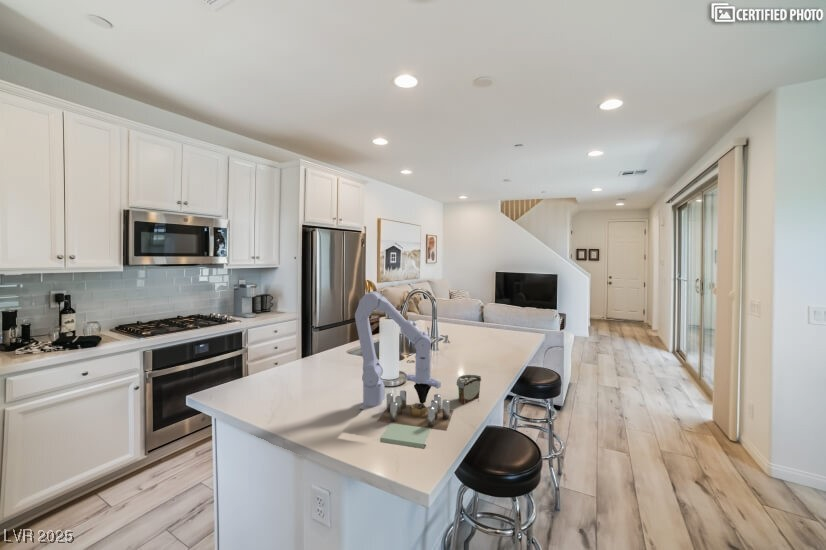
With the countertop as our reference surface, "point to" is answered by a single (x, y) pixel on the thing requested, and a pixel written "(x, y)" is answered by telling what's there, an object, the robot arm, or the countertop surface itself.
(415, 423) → the board
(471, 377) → the food container
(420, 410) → the nut
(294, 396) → the countertop surface
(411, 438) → the pad
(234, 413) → the countertop surface
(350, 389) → the countertop surface
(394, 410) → the spacers
